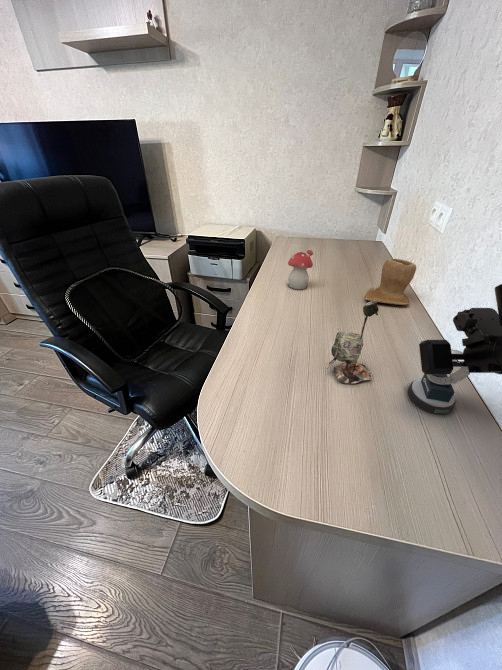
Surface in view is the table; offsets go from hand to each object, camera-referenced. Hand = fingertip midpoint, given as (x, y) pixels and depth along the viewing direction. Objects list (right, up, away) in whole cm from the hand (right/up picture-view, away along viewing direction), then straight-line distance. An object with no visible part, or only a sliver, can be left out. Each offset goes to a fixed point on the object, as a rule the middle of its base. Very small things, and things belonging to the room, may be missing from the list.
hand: (443, 360), depth 59 cm
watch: (0, -7, +3) cm, 8 cm away
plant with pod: (-16, -5, +12) cm, 21 cm away
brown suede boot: (+9, +18, +44) cm, 49 cm away
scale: (0, -9, +5) cm, 10 cm away
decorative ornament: (-22, +25, +53) cm, 63 cm away
